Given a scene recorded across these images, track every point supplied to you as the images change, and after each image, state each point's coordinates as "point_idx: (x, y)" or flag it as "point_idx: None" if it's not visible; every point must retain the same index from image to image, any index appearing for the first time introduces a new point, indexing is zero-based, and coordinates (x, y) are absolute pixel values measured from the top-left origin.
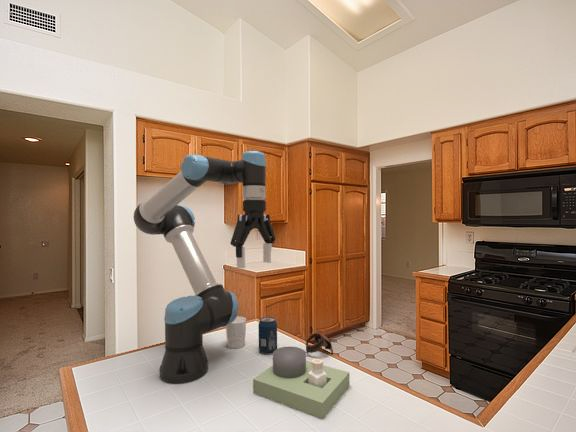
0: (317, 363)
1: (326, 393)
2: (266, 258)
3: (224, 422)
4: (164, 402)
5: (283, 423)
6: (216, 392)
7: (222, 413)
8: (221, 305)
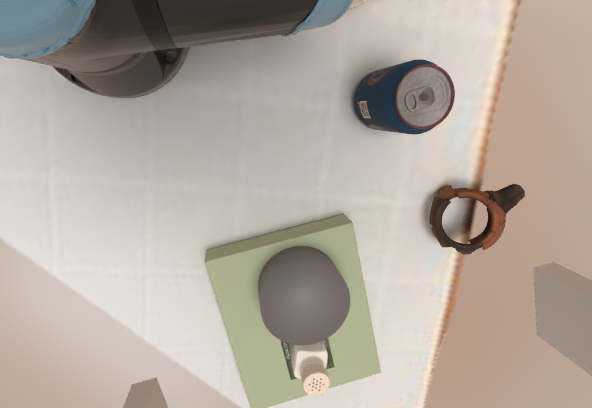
0: (307, 392)
1: (281, 396)
2: (567, 324)
3: (102, 293)
4: (15, 140)
5: (190, 359)
6: (141, 190)
7: (113, 267)
8: (234, 10)
